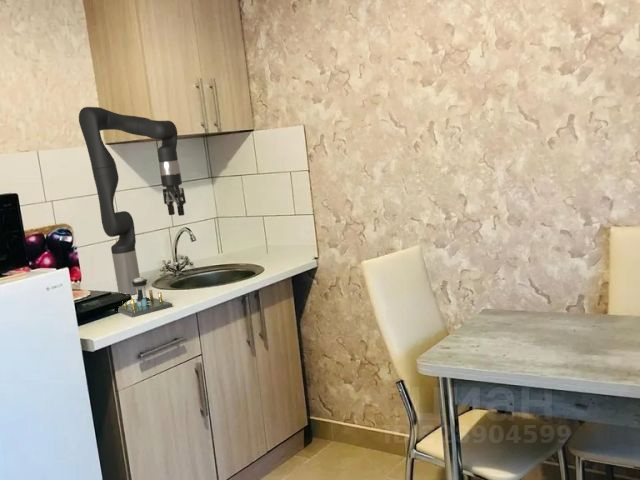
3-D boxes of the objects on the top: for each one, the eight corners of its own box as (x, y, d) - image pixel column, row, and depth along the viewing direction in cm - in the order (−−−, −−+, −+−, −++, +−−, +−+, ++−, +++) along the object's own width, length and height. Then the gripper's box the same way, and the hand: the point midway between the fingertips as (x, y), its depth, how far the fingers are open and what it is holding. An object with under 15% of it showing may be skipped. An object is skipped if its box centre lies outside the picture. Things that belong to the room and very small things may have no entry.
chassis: (115, 311, 235) (113, 297, 235) (154, 301, 244) (152, 287, 243) (132, 317, 223) (129, 302, 222) (172, 306, 232) (170, 292, 231)
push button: (156, 303, 233) (152, 276, 232) (145, 308, 229) (140, 280, 227) (143, 303, 237) (139, 276, 235) (132, 307, 232) (128, 279, 231)
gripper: (153, 175, 252) (160, 216, 255) (169, 174, 241) (175, 217, 243) (171, 172, 257) (177, 213, 259) (187, 171, 245) (193, 214, 248)
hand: (176, 215), depth 251 cm, fingers open, 8 cm apart
